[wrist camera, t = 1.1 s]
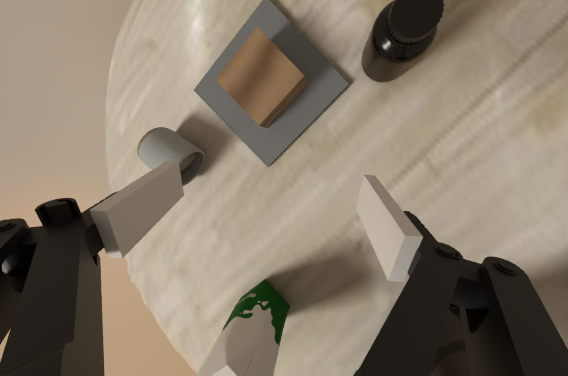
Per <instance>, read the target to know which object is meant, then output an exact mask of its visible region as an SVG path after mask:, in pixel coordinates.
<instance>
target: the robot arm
mask: <svg viewBox="0 0 568 376" xmlns="http://www.w3.org/2000/svg"><path fill="white" fill-rule="evenodd" d="M183 196H184V193H183V187H182V181H181V174H180V168H179V162H178V161H169V160H168V161H166V162H164V163H163V164H161V165H160V166H158V167H156V168H155V169H153V170H152V171H150V172H149V173H147V174H145V175H144V176H142V177H141V178H139V179H137V180H136V181H134V182H133V183H131V184H130V185H128V186H126V187H125V188H123V189H122V190H120V191H118V192H115V193H113V194H111V195H110V196H108V197H106V198H105V199H103V200H101V201H100V202H99V203H97V204H95V205H94V206H92V207H90V208H89V209H87V210H86V211H84V212H82V213H81V212H80V210H79V207H78V205H77V202H76V200H75V199H72V198H61V199H55V200H52V201H49V202H46V203H43V204H41V205H39V206H37V208H36V209H35V211H36V213H37V215H38V217H39V219H40V221H41V223H42V225H43V226H39V227H30V228H29V227H28V225H27V223H26V221H25V220H24V219H19V218H18V219H9V220H2V221H0V344H1V342H2V341H3V339H4V338H5V336H6V335H7V333H8V332H9V330H10V328H11V330H10V333H9V336H8V340H7V343H6V346H5V349H4V352H3V355H2V359H1V362H0V376H104V352H103V327H102V326H103V324H102V296H101V268H100V257H99V255H98V252H99V251H101V250H102V249H103V248H105V251H106V253H107V256H108V257H116V258H123V257H124V256H125V255H126V254H127V253H128V252H129V251H130V250H131V249H132V248H133V247H134V246H135V245H136V244H137V243H138V242H139V241H140V240H141V239H142V238H143V237H144V236H145V235H146V234H147V233H148V232H149V231H150V230H151V229H152V228H153V226H154V225H155V224H156V223H157V222H158V221H159V220H160V219H161V218H162V217H163V216H164V215H165V214H166V213H167V212H168V211H169V210H170V209H171V208H172V207H173V206H174V205H175V204H176V203H177V202H178V201H179V200H180V199H181V198H182V197H183ZM356 210H357V212H358V215H359V217H360V219H361V221H362V224H363V226H364V228H365V230H366V233H367V235H368V237H369V239H370V242H371V244H372V246H373V248H374V251H375V253H376V255H377V257H378V260H379V262H380V264H381V266H382V269H383V271H384V273H385V275H386V278H387V280H388V281H395V282H404V281H405V278H406V276H407V274H409V276H410V278H409V280H408V281H407V283H406V285H405V287H404V289H403V290H402V292H401V294H400V296H399V298H398V299H397V301H396V303H395V305H394V307H393V308H392V310H391V312H390V314H389V316H388V317H387V319H386V321H385V323H384V325H383V327H382V328H381V330H380V332H379V334H378V336H377V337H376V339H375V341H374V343H373V345H372V346H371V348H370V350H369V352H368V354H367V355H366V357H365V359H364V361H363V363H362V364H361V366H360V368H359V369H358V370H357V371H356V372H355V374H354V375H353V376H568V349H567V347H566V345H565V344H564V342H563V340H562V338H561V336H560V334H559V333H558V331H557V329H556V327H555V325H554V324H553V322H552V320H551V318H550V316H549V314H548V313H547V311H546V309H545V307H544V305H543V303H542V302H541V300H540V298H539V296H538V294H537V293H536V291H535V289H534V287H533V285H532V283H531V282H530V280H529V278H528V276H527V275H526V273H525V272H524V271H523V270H522V269H520V268H519V267H518V266H517V265H515V264H513V263H511V262H510V261H507V260H504V259H501V258H497V257H487V258H485V259H484V261H483V262H482V264H480V263H476V262H472V261H469V260H465V259H463V256H462V255H461V254H460V252H458V251H457V250H456V249H454V248H453V247H451V246H449V245H446V244H443V243H439V242H437V240H436V239H435V238H434V237H433V236H432V234H431V233H430V232H429V231H428V230H427V229H426V228H425V226H424V225H423V224H421V222H420V220H419V219H418V218H417V217H416V216H415V215H413V214H412V213H410V212H409V211H402V209H401V208H400V207H399V206H398V204H397V203H396V202H395V201H394V199H393V198H392V197H391V196H390V194H389V193H388V192H387V190H386V189H385V188H384V187H383V185H382V184H381V183H380V182H379V180H378V179H377V178H376V176H372V175H364V176H363V181H362V185H361V189H360V193H359V198H358V202H357V206H356ZM2 270H3V271H4V272H3V271H2Z"/></svg>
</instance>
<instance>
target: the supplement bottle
mask: <svg viewBox="0 0 568 376" xmlns="http://www.w3.org/2000/svg"><path fill="white" fill-rule="evenodd" d="M443 7H444V3H443V0H394V1H392V2H390V3H389V4H388V5H387V6H386V7H385V8H384V9H383V10H382V11H381V12H380V13H379V15H378V17H377V18H376V20H375V23H374V25H373V27H372V30H371V32H370V35H369V38H368V40H367V43H366V45H365V48H364V51H363V54H362V67H363V70H364V72H365V73H366V75H367V76H368V77H369V78H371V79H372V80H374V81H377V82H388V81H392V80H394V79H396V78H397V77H399V76H400V75H401V74H403V73H404V72H405V71H406V70H407V69H408V68H409V67H410V66H411V65H412V64H413V63H414V62H415V61H416V60H417V59H418V58H419V57H420V56H422V55H423V54H424V53H425V51H426V50H427V49H428V48H429V47H430V45H431V44H432V42H433V40H434V38H435V35H436V31H437V24H438V23H439V22H440V18H441V17H442V13H443V11H444V9H443Z"/></svg>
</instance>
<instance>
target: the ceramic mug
mask: <svg viewBox="0 0 568 376" xmlns="http://www.w3.org/2000/svg"><path fill="white" fill-rule="evenodd" d="M138 155H139V157H140V159H141V160H142V161H143V162H144V163H145V164H146V165H147V166H148V167H149V168H151V169H152V170H153V169H155V168H156V167H158V166H160V165H161V164H163V163H164V162H166V161H168V160H169V161H178V162H179V168H180V174H181V181H182V186H184V185H186V184H188V183H189V182H190V181H191V180H193V179H194V178H195V177H196V176H197V174H198V173H199V171H200V170H201V169H202V167H203V164H204V162H205V153H204V152H203V151H202V150H201V149H199V148H198V147H196V146H195V145H193V144H192V143H191V142H189V141H188V140H186V139H184V138H183V137H181V136H180V135H179V134H177V133H176V132H174V131H172V130H170V129H168V128H164V127H159V128H155V129H153V130H151V131H149V132H148V133H146V134H145V135H144V136H143V137H142V139H141V141H140V142H139V145H138Z"/></svg>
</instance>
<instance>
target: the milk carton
mask: <svg viewBox="0 0 568 376" xmlns="http://www.w3.org/2000/svg"><path fill="white" fill-rule="evenodd" d="M288 310H289V305H288V303H287V302H286V301H285V300H284V299H283V298H282V297H281V296H280V295H279V293H278V292H277V291H276V290H275V289H274V288H273V287H272V286H271V285H270V284H269V282H268V281H267V280H266V279H265V280H264V281H262V282H261V283H260V284H258V285H257V286H256V287H254V288H253V289H252V290H250V291H249V292H248V293H246V294H245V295H244V296H243V297H241V299H240V300H239V302H238V303H237V304H236V306H235V308H234V309H233V311H232V313H231V315H230V317H229V319H228V321H227V322H226V324H225V326H224V328H223V330H222V332H221V333H220V335H219V337H218V339H217V341H216V343H215V345H214V346H213V348H212V350H211V352H210V354H209V356H208V357H207V359H206V361H205V362H204V364H203V366H202V368H201V369H200V371H199V373H198V375H197V376H273V374H274V369H275V364H276V360H277V355H278V350H279V346H280V341H281V336H282V331H283V327H284V324H285V320H286V317H287V313H288Z"/></svg>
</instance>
